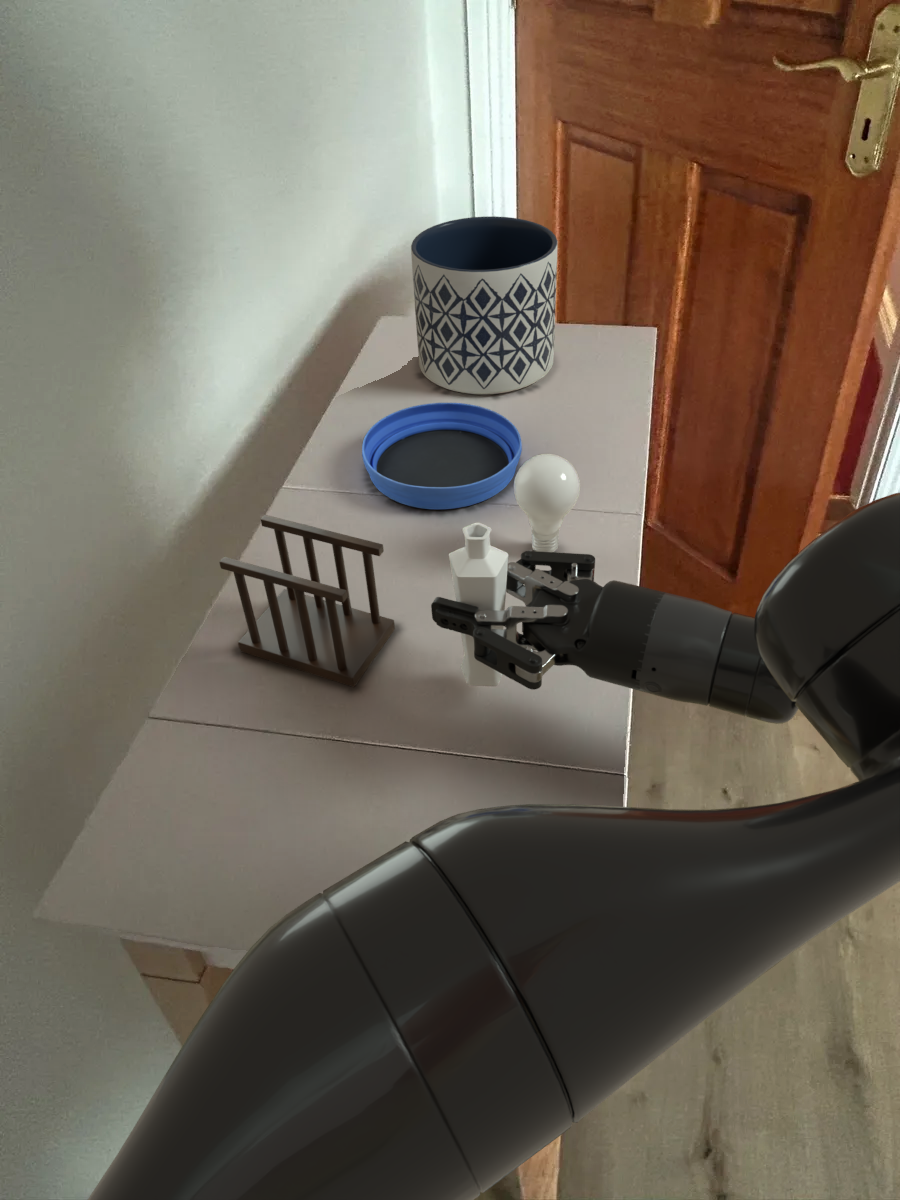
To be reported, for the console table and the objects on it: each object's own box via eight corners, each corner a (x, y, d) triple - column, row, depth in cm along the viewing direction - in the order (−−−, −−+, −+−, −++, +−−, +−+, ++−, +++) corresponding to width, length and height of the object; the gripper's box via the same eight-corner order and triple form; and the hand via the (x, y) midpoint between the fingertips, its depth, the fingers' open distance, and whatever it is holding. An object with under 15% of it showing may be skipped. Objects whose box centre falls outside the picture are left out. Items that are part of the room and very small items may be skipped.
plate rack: (395, 628, 85) (385, 541, 78) (354, 687, 80) (339, 599, 73) (286, 597, 89) (267, 511, 82) (240, 651, 84) (215, 564, 77)
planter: (440, 408, 115) (433, 281, 104) (404, 347, 128) (394, 228, 117) (574, 383, 118) (581, 257, 107) (526, 325, 131) (527, 208, 121)
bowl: (373, 525, 97) (369, 498, 95) (357, 437, 111) (354, 411, 108) (537, 502, 99) (538, 475, 97) (503, 419, 112) (503, 393, 110)
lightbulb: (541, 524, 96) (543, 433, 89) (588, 549, 93) (595, 457, 85) (500, 552, 93) (499, 461, 86) (548, 579, 89) (551, 486, 82)
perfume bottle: (444, 676, 77) (432, 536, 67) (477, 647, 80) (469, 507, 70) (487, 700, 75) (480, 559, 65) (519, 669, 77) (517, 529, 68)
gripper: (687, 546, 69) (480, 501, 75) (635, 672, 60) (403, 610, 66) (676, 618, 74) (483, 571, 80) (626, 746, 65) (411, 681, 71)
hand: (448, 589), depth 73 cm, fingers closed on perfume bottle, 4 cm apart
